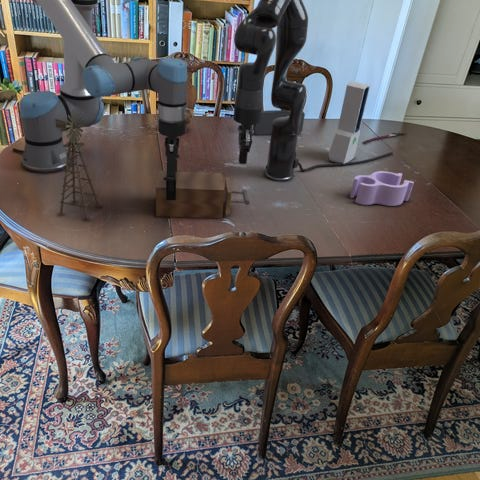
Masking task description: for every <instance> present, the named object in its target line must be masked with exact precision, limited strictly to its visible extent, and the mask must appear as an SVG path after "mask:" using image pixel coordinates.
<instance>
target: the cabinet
mask: <svg viewBox="0 0 480 480" xmlns="http://www.w3.org/2000/svg"><path fill="white" fill-rule="evenodd" d="M166 176H167V170H157V175H156V182H155V216H156V217H164V218H167V217H169V218H193V219H194V218H196V219H197V218H199V219H223V215H224V214H223V212H224V187H225V182H224V178H223V173H217V172H197V171H195V172H194V171H193V172H192V171H177V172H176V200H166V180H164V177H166Z"/></svg>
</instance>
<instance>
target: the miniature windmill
mask: <svg viewBox="0 0 480 480" xmlns="http://www.w3.org/2000/svg"><path fill="white" fill-rule="evenodd" d="M78 112H79V109H78ZM70 113H71V111H70ZM80 114H81V112H80ZM80 114H79V116H80ZM71 116H72V113H71ZM73 116H75V118H74V120H73ZM73 116H72V118H70V116H69V114H68V117H69V119H70V121H71V122H72V123H74V122H76V121H78V119H79V117H78V119H77V118H76V116H78V113H77V115H76V111H75V115H74V109H73ZM82 117H83V115H82V116H81V118H82ZM81 118H80V119H79V121H80V120H81ZM72 120H73V121H72ZM55 121H56V127H59V128H65V127H66V128H68V127H69V129H67V130H66V131H65V133H66V138H67V140H68V141H67V142H66V143H64V145H63V146H64V147H66V148H67V151H68V153H67V154H66V155H67V161H66V168H65V169H63V170H64V177H63V184H62V192H61V193H60V195H61V200H60V201H59V204H60V208H59V215H63V211H64V205H68V206H73V207H79V208H82V210H83V216H84V220H88V214H87V207H88V206H89V205H90V204H91V203H92V202H93V201H95V204H96V207H98V208H99V207H100V203H99V200H98V194H96V192H95V191H96V190H95V188H94V185H93V183H92V179H91V176H90V174H89V172H88V168H87V165H86V162H85V159H84V157H83V151H81V148H82V147H84V146H85V145H86V143H84V141H83V142H81V141H80V140H81V137H82V136H83V135H82V133H83V132H84V130H83V129H82V128H84V127H83V126H84V125H79V124H81V123H83V120H82V121H81V122H79V121H78V122H79V123H78V122H76V123H77V128H76V129H73V127H75V125H74V124H72V123H71V122H70V121H68V120H67V122H68V123H69V124H68V125H67V123H66V122H64V121H61V120H58V119H55ZM78 127H82V128H78ZM79 141H80V142H79ZM69 157H70V159H69ZM79 157H80V160H81V163H82V164H79V162H78V158H79ZM70 160H71V164H70V165H69V166H68V164H69V161H70ZM80 167H82V168H81V169H80ZM75 168H76V170H75ZM79 169H80V170H79ZM83 171H84V172H85V175H86V178H84V177H81V173H82V172H83ZM75 174H77V176H76V175H75ZM70 176H72V178H70V179H69V180H67V178H68V177H70ZM76 179H77V180H78V186H76ZM82 180H83V181H87V182H86V183H85V184H84V185H82ZM71 182H72V184H71V185H68V184H69V183H71ZM88 185H89V186H90V190H91V192H92V193H88V192H84V191H83V189H84V188H85V187H87V186H88ZM71 188H72V191H71V192H70V193H68V194H67V195H65V194H66V192H67V191H68V190H70V189H71ZM77 190H79V191H77ZM76 194H80V198H81V204H82V205H81V204H76ZM71 195H72V203H71V202H65V200H66V199H67V198H69V197H70V196H71ZM84 195H85V196H92V198H91V200H89V201H88V202H87V203H85V197H84Z"/></svg>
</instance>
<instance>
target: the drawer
mask: <svg viewBox="0 0 480 480" xmlns="http://www.w3.org/2000/svg"><path fill="white" fill-rule="evenodd" d="M231 186H232V185H231V181H230V177H229V176H227V177H224V202H223V208H224V214H225V215H226V216H230V214H231V205H232V204H244V205H246V206H249V205H250V204H251V202H250V198H249V194H248V190H247V189H243V190H232V187H231ZM233 194H238V195H240V194H241V195H242V197H243V198H242V199H243V200H237V199H236V200H235V199H232V195H233Z"/></svg>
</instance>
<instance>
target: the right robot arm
mask: <svg viewBox="0 0 480 480" xmlns="http://www.w3.org/2000/svg"><path fill="white" fill-rule="evenodd" d="M308 27H309V15H308V11H307V9H306V6H305V4H304V2H303V0H259V1H258V3H257V5H256V6H255V8H253V10H252V11H250V13H248V15H246V16H245V18H243V20H241V22H240V23H239V24H238V26H237V27H236V30H235V31H234V35H233V44H234V47H235V48H236V50H238V52H241V53H244V54H249V55H255V56H256V57H255V60H254V61H252V62H243V63H241V64H240V65H239V66H238V72H237V83H236V90H235V95H234V96H235V97H234V108H233V121H234V122H235V123H238V128H237V130H238V137H237V141H238V151H239V153H238V163H239V164H240V165H246V164H247V161H248V153H250V152H251V148H252V144H253V136H254V130H253V125H254V124H258V123H259V122H260V119H261V111H263V101H264V85H265V77H266V72H267V68H268V66H269V63H270V60H271V57H272V55H273V52H274V49H275V57H274V58H275V59H274V67H273V68H274V69H273V75H272V83H271V93H270V102H271V105H272V107H273V108H275V109H279V110H286V111H290V115H289V116H288V117H281V118H277V119H275V120H274V121H273V123H272V131H271V134H270V139H269V147H268V155H267V162H266V166H265V176H266V177H267V178H269V179H270V180H273V181H278V182H285V181H289V180H290V179H292V176H293V175H294V170H295V169H297V168H298V167H299V170H300V171H301V172H308V171H309V172H310V171H312V170H313V169H315V168H321V167H339V166H340V167H341V166H350V165H357V164H364V163H368V162H372V161H375V160H378V159H381V158H385V157H387V156H391V155H393V154H394V152H393V151H390V152H388V153H385V154H381V155H378V156H375V157H372V158H368V159H363V160H356V161H349V162H348V163H345V164H343V163H336V162H335V163H322V164H321V163H320V164H315V165H313V166H310V167H309V168H308V167H307V168H303V166H302V164H301V163H300V159H299V158H297V150H296V149H297V142H298V137H299V133H298V131H299V126H300V123H301V118H302V112H304V107H305V103H306V98H307V87H306V85H305V84H303V83H299V82H295V81H291V80H287V74H288V70H289V67H290V66H291V64H292V63H293V61H294V60H295V58H297V56H298V55H299V53H300V52H301V51H302V49H303V48H304V47H305V44H306V43H307V38H308ZM274 28H276V32H275V30H274Z"/></svg>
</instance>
